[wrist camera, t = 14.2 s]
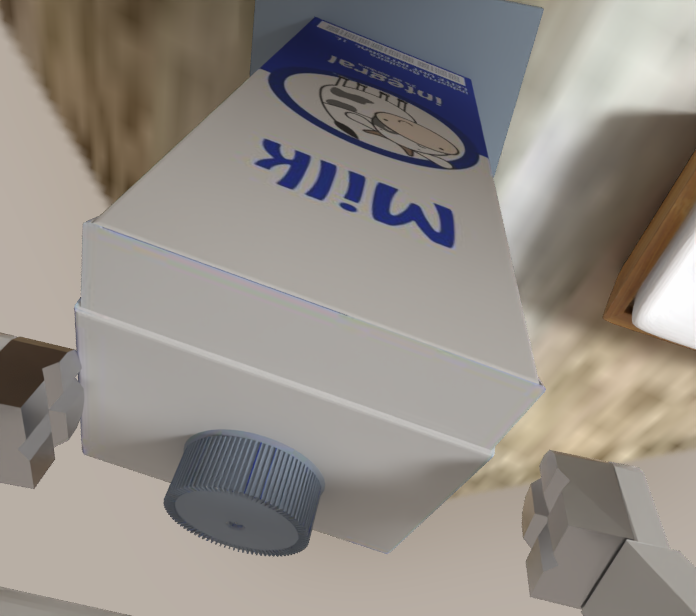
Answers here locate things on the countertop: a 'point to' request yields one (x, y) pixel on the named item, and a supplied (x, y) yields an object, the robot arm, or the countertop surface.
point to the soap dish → (662, 271)
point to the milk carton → (309, 305)
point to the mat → (426, 42)
